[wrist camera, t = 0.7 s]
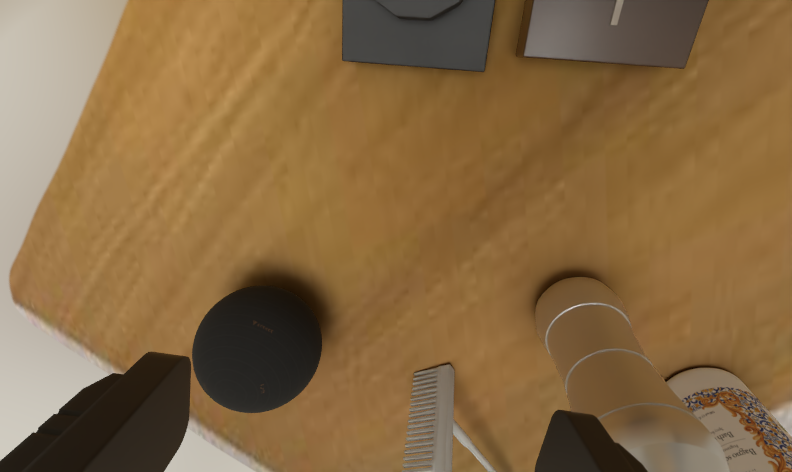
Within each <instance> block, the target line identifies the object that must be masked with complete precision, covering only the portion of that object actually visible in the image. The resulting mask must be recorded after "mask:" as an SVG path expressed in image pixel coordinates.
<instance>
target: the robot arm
mask: <svg viewBox="0 0 792 472" xmlns="http://www.w3.org/2000/svg"><path fill="white" fill-rule="evenodd" d="M190 378H191V362H190V359H189V357H186V356H179V355H172V354H164V353H157V352H148V353H146V354H145V355H144V356H143V357H142V358H141V359H139V360H138V361H137V362H136V363H135V364H134V365H133V366H132V367H131V368H130V369H129V370H128V371H127V372H126V373H125V374H124V375H123V374H116V373H113V374H111V375H109V376H107V377H105V378H103V379H101V380H99V381H97V382H95V383H94V384H91V385H90V386H88V387H86V388H84V389H82V390H81V391H80V392H79V393H78V394H77V395H76V396H75V397H73V398H72V399H71V400H70V401H69V402H68V403H66V404H65V405H64V406H63V407H62V408H61V409H59V413H58V414H54V415H53V416H51V417H50V418H49V419H48V420H47V421H46V422H45V423H43V424H42V425H41V426H40V427H39V428H38V431H37V432H36V433H32V434H31V435H30V436H28V437H27V438H26V439H25V440H24V441H23V442H22V443H21V444H19V445H18V446H17V447H16V448H15V449H14V450H12V451H11V452H10V453H9V454H8V455H7V456H6V457H4V458H3V459H2V460H1V461H0V472H164V471H165V469H166V467H167V466H168V464H169V463H170V461H171V460H172V458H173V456H174V455H175V453H176V452H177V450H178V449H179V447H180V445H181V443H182V441H183V438H184V436H185V432H186V429H187V426H188V421H189V406H190ZM535 472H648V471H647V470H646V468H645V467H644V466H643V464H642V463H640V462H639V461H638V460H637V459H636V458H635V457H634V456H633V455H632V454H630V453H629V452H628V451H627V450H626V449H625V448H624V447H623V446H621V445H620V444H619V443H615V442H614V441H613V439H612V438H611V437H610V435H609V434H608V432H607V431H606V429H605V428H604V427H603V425H602V424H601V422H600V421H599V420H598V418H597V417H596V416H594V415H592V414H585V413H578V412H571V411H564V410H557V411H556V412H555V413H554V414H553V416H552V418H551V421H550V424H549V427H548V430H547V433H546V436H545V439H544V441H543V444H542V447H541V450H540V453H539V456H538V459H537V462H536V466H535Z"/></svg>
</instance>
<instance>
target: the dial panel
mask: <svg viewBox="0 0 792 472" xmlns="http://www.w3.org/2000/svg"><path fill="white" fill-rule="evenodd" d="M708 1H709V0H526V1H525V7H524V12H523V18H522V23H521V29H520V34H519V40H518V46H517V51H516V56H517V57H530V58H544V59H557V60H571V61H584V62H598V63H611V64H625V65H638V66H652V67H665V68H679V69H684V68H685V66H686V63H687V60H688V57H689V55H690V52H691V49H692V46H693V43H694V40H695V38H696V35H697V32H698V29H699V26H700V23H701V21H702V18H703V15H704V12H705V9H706V6H707V4H708Z"/></svg>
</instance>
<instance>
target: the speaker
mask: <svg viewBox="0 0 792 472" xmlns="http://www.w3.org/2000/svg"><path fill="white" fill-rule="evenodd" d="M321 351H322V337H321V331H320V327H319V324H318V321H317V319H316V317H315V315H314V313H313V312H312V310H311V309H310V307H309V306H308V305H307V304H306V303H305V302H304V301H303V300H302V299H301V298H299V297H298V296H296V295H295V294H293V293H291V292H289V291H287V290H285V289H282V288H278V287H273V286H253V287H248V288H244V289H241V290H238V291H236V292H233V293H231V294H229V295H228V296H226V297H224V298H223V299H222V300H220V301H219V302H218V303H217V304H215V305H214V306H213V307H212V308H211V309H210V311H209V312H208V313H207V314H206V316H205V317H204V319H203V320H202V322H201V324H200V326H199V328H198V330H197V332H196V335H195V339H194V343H193V351H192V359H193V367H194V371H195V374H196V377H197V379H198V381H199V383H200V385H201V387H202V388H203V390H204V391H205V392H206V393H207V394H208V395H209V396H210V397H211V398H212V399H213V400H214V401H215V402H217V403H218V404H220V405H222V406H224V407H226V408H228V409H231V410H234V411H238V412H244V413H259V412H265V411H269V410H272V409H275V408H278V407H280V406H282V405H284V404H286V403H288V402H289V401H291V400H292V399H293V398H295V397H296V396H297V395H298V394H299V393H301V392H302V390H303V389H304V388H305V387H306V386H307V385H308V383H309V382H310V380H311V379H312V377H313V375H314V374H315V372H316V369H317V367H318V364H319V361H320V357H321Z"/></svg>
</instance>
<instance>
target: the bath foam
mask: <svg viewBox="0 0 792 472" xmlns="http://www.w3.org/2000/svg"><path fill="white" fill-rule="evenodd" d="M666 383H667V384H668V386H669V387H670V388H671V390H672V391H673V392H674V393H675V394H676V395H677V396H678V397H679V398H680V399H681V400H682V402H683V403H684V404H685V405H686V406H687V407H688V408H689V409H690V410H691V411H692V413H693V414H694V415H695V416H696V417H697V418H698V419H699V420H700V421H701V422H702V423H703V425H704V426H705V427H706V428H707V429H708V430H709V431H710V433H711V434H712V435H713V436H714V438H715V439H716V440H717V441H718V443H719V444H720V446H721V447H722V449H723V451H724V454H725V457H726V460H727V463H728V466H729V469H730V472H792V437H791V436H790V435H789V434H788V433H787V431H786V430H785V429H784V428H783V427H782V426H781V425H780V423H779V422H778V421H777V420H776V419H775V418H774V417H773V416H772V414H771V413H770V412H769V411H768V410H767V409H766V408H765V406H764V405H763V404H762V403H761V402H760V401H759V400H758V399H757V398H756V397H755V396H754V394H753V393H752V392H751V391H750V390H749V389H748V388H747V386H746V385H745V384H744V383H743V382H742V381H741V380H740V379H739V378H738V377H736V376H735V375H733V374H732V373H730V372H727V371H725V370H721V369H716V368H696V369H691V370H687V371H684V372H681V373H679V374H677V375H675V376H674V377H672V378H671V379H669V380H668V381H667V382H666Z"/></svg>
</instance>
